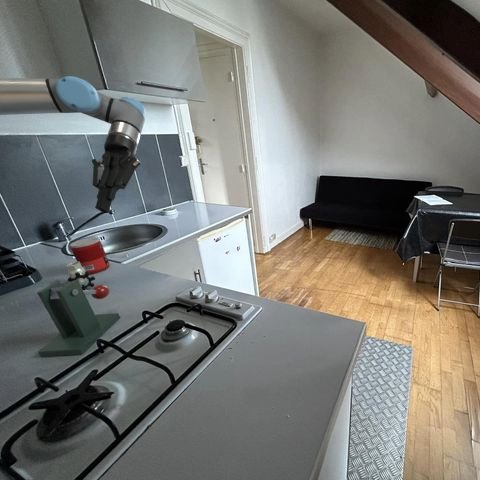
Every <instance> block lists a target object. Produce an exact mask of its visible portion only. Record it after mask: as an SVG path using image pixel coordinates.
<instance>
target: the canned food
mask: <svg viewBox="0 0 480 480" xmlns="http://www.w3.org/2000/svg"><path fill="white" fill-rule="evenodd" d="M69 248H70V250H71V252H72V254H73V256H74V258H75V260H76V261H79V262H80V264H81V266H82V267H83V268H84V269H85V270H86V272H89V275H93V274H98V273H101V272H103V271H106V270H107V269H108V268H110V266H111V265H110V264H111V263H110V261H109V258H108V256H107V254H106V251H105V249H104V246H103V244H102V241H101V239H100V238H99V237H95V236H94V237H86V238H82V239H77V240H76V241H73V242H72V243H70V244H69Z"/></svg>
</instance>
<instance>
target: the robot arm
mask: <svg viewBox="0 0 480 480" xmlns="http://www.w3.org/2000/svg"><path fill="white" fill-rule="evenodd" d="M77 113H78V114H82V115H86V116H89V117H91V118H94V119H97V120H100V121H102V122H105V123H107V124H110V127H109V129H108V132H107V136H106V138H105V140H104V144H103V148H104V153H102V154H101V157H100V158H99V159H96V158H93V159H92V160H91V163H92V166H93V168H92V186H93V187H95V189H97V190H98V191H97V195H96V199H97V201H96V204H95V207H94V208H95V209H96V210H98V211H99V212H101V213H103V214H105V213H107V214H108V213H109V212H110V209H111V205H112V202H113V201H115V198H116V195H117V192H118V191H120V190H125V189H126V187H127V186H128V184H129V182H130V180H131V179H132V177H133V175H134V173H135V171H136V169H138V167H140V166H141V164H142V163H141V161H139V160H138V159H137V157H136V153H137V150H138V146H139V143H140V139H141V134H142V131H143V128H144V124H145V120H146V116H147V110H146V107H145V106H144V105H143V104H142V103H141V102H140V100H137V99H135V98H133V97H128V96H123V97H121V98H120V99H119V100H118V99H117V98H113V97H110V96H108V95H105V94H103V93H102V92H99V91H97V89H96V87H94V86H93V85H92V84H91V83H90V82H89V81H87V80H85V79H84V78H83V79H82V78H80V77H78V76H74V75H73V76H72V75H67V76H63V77H61V78H33V77H31V78H30V77H0V116H8V115H10V116H12V115H36V114H37V115H38V114H77Z"/></svg>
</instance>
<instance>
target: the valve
mask: <svg viewBox="0 0 480 480" xmlns="http://www.w3.org/2000/svg"><path fill="white" fill-rule="evenodd" d="M65 267H66V268H67V270H68V273H67V274H68V276H69V277H67V282H68V283H70V282H72V281H74V280H78V281H79V283H80V285H81V287H82V289H83V290H89V289H88V288H89V287H90V288H94V287H95V283H94V281H95V280H96V277H95V276H94V275H93V276H91V277H90V274H89V272H86V270H85V269H84V268H83V267H82V266H81V264H80V262H79V261H77V260H76V261H72V262H69V263H67V264H66V266H65ZM87 281H88V282H87ZM92 281H93V282H92ZM86 282H87V283H86ZM85 283H86V285H85Z"/></svg>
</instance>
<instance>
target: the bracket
mask: <svg viewBox="0 0 480 480" xmlns="http://www.w3.org/2000/svg"><path fill="white" fill-rule="evenodd" d="M58 287H62V288H61V289H59V290H58V291H56V292H57V294H58V296H59V298H60V299H50V293H51V288H58ZM36 294H37V295H38V297H39V299H40V301H41V303H42V304H43V306H44V308H45V309H46V311H47V313H48V315H49V316H50V319H51V321H52V322H53V323H54V325H55V327H56V329H57V330H58V332H59V334H58V335H57V336H55V337H54V338H53V339H52V340H51V341H49V342H48V343H47V344H46V345H45V346H43V347H42V348H41V349H40V350H38V351H37V353H38V354H39V356H40V357H41V358H45V357H61V356H76V355H77V356H78V355H79V356H80V355H83V354H85V353H86V351H88V350H89V349H90V348H91V347H92V346H93V345H94V344H95V343H96V342H97V341H98V340H99V339H100V338H101V337H102V336H103V335H104V334H105V333H106V332H107V331H108V330H109V329H111V328H112V326H114V325H115V323H117V322H118V321H119V320H120V319H121V316H120V314H119V313H118V312H115V313H114V312H113V313H101V314H99V313H98V314H97V313H95V312H94V310H93V308H92V306H91V304H90V302H89V300H88V297H87V296H86V295H85V293H84V291H83V289H82V285H80V283H79V281H78V280H74V281H72V282H68V283H67V284H66V285H63V283H62V282H61V280H57V281H56V280H55V281H54V282H52V283H51V284H49V285H47V286H46V287H44V288H42V289H41V290H39V291H37V292H36Z"/></svg>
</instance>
